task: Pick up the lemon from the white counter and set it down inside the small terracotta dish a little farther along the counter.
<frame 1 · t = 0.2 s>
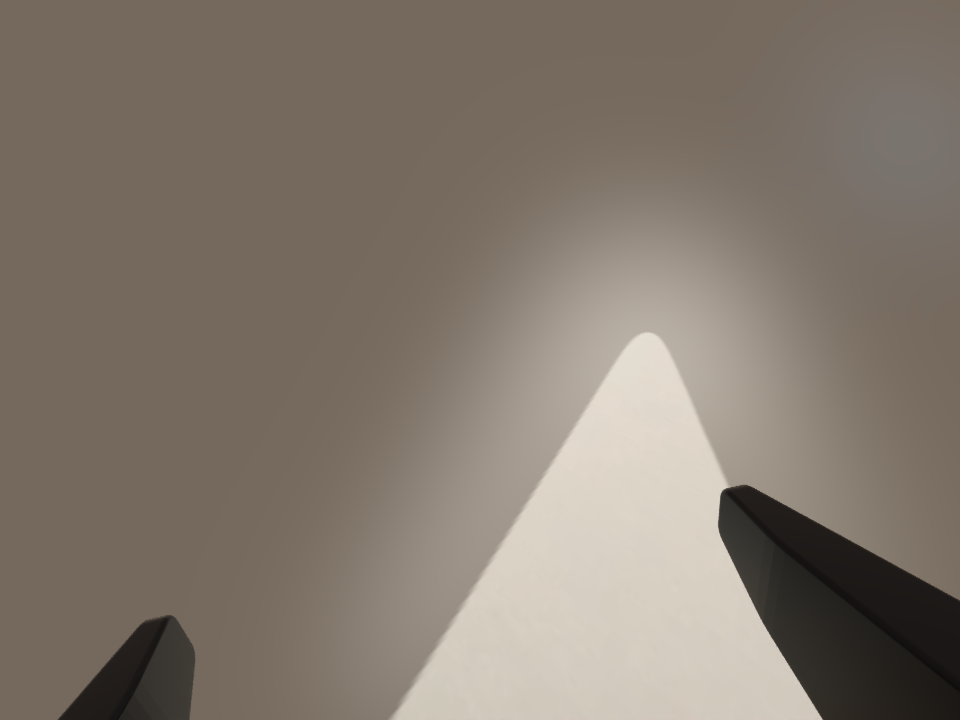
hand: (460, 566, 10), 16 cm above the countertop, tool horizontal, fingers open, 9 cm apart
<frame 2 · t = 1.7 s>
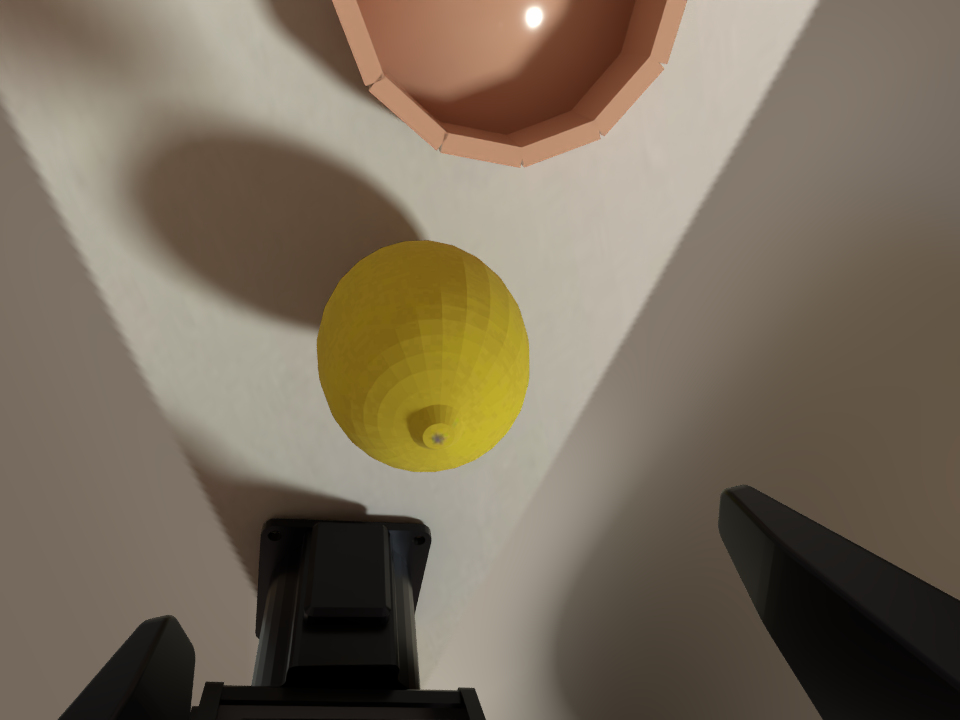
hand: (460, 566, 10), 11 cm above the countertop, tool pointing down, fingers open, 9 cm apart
lemon: (413, 290, 20), on the countertop
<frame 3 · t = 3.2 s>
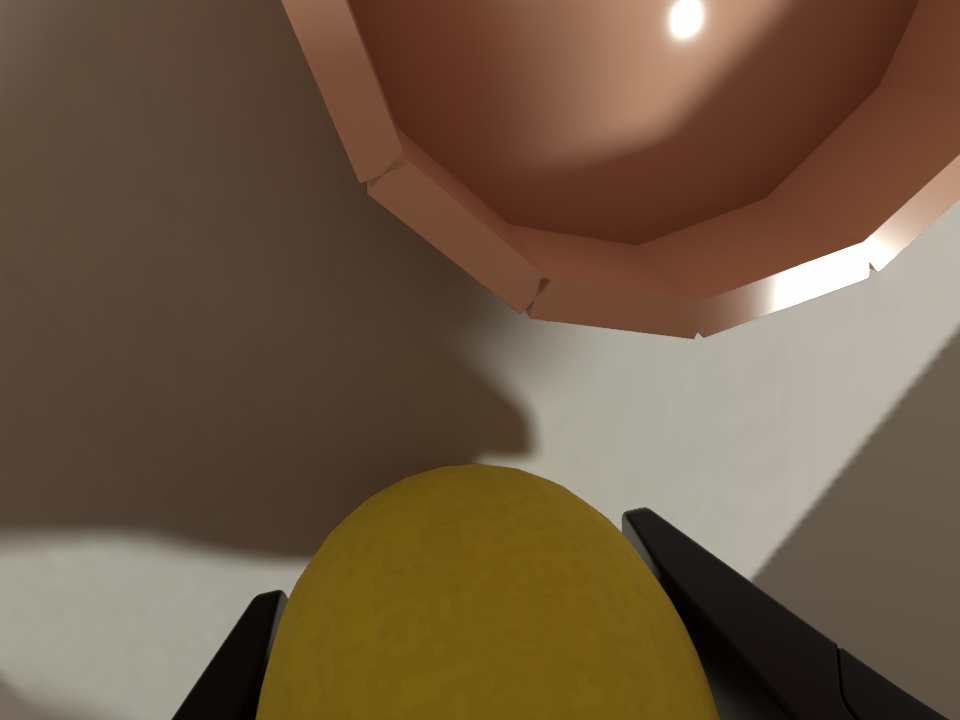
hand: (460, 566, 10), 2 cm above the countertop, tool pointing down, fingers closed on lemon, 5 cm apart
lemon: (447, 491, 11), on the countertop, touching gripper
when the fingers open (4 cm above the countertop, at t = 7.1 s): lemon drops 2 cm, resting on dish.
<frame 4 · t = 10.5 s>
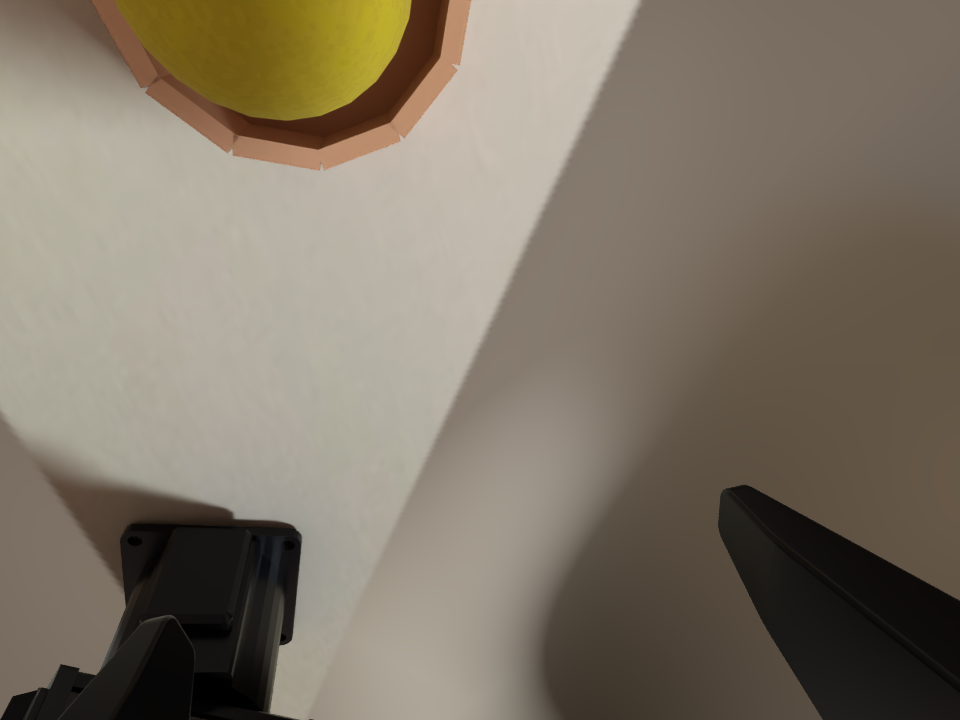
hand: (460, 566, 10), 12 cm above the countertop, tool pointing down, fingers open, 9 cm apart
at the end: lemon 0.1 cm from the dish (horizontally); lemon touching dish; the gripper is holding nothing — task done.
